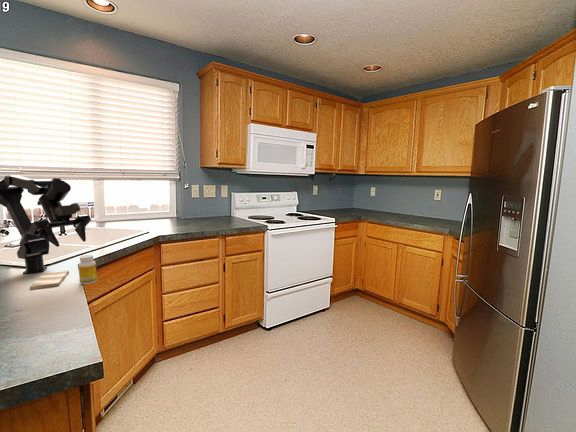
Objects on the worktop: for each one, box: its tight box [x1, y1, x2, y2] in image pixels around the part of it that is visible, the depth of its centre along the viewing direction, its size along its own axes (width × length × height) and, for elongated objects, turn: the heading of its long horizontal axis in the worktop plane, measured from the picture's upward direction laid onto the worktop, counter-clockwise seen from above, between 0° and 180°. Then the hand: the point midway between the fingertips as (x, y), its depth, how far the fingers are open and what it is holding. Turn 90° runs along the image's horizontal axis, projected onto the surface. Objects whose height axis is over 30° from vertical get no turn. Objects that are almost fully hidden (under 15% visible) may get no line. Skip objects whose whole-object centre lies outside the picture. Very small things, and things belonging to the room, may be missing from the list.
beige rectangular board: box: [29, 270, 70, 290], centre depth 114 cm, size 16×8×1 cm, turn 25°
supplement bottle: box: [77, 254, 98, 285], centre depth 111 cm, size 5×5×10 cm
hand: (72, 243), depth 113 cm, fingers open, 9 cm apart
